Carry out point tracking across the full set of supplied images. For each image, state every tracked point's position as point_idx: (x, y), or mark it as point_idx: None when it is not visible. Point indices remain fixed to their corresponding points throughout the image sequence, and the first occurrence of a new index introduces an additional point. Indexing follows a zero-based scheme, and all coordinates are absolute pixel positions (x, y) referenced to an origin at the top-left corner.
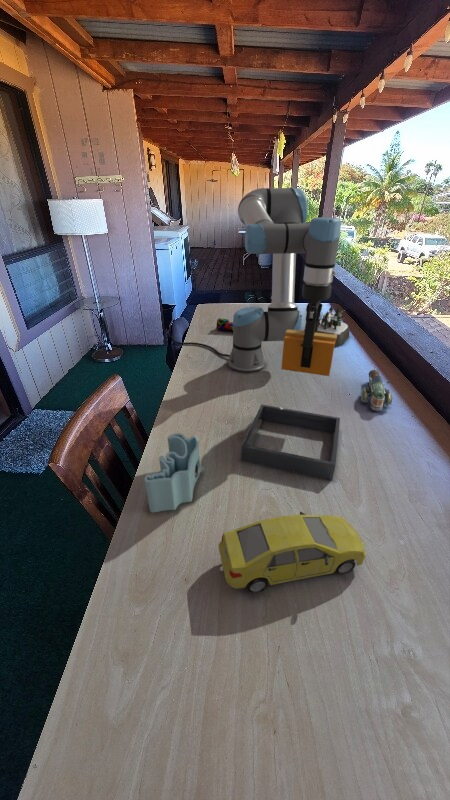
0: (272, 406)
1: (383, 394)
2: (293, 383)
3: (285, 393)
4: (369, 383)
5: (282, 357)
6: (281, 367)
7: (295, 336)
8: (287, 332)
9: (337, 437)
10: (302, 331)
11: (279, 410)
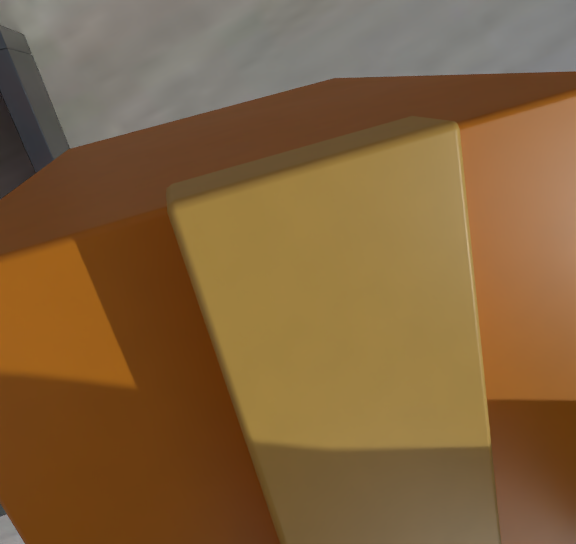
0: (30, 110)
1: None
2: (495, 40)
3: (366, 48)
4: None
5: (32, 176)
6: (64, 152)
7: (221, 466)
8: (193, 279)
9: (3, 512)
10: (485, 539)
11: (34, 167)
